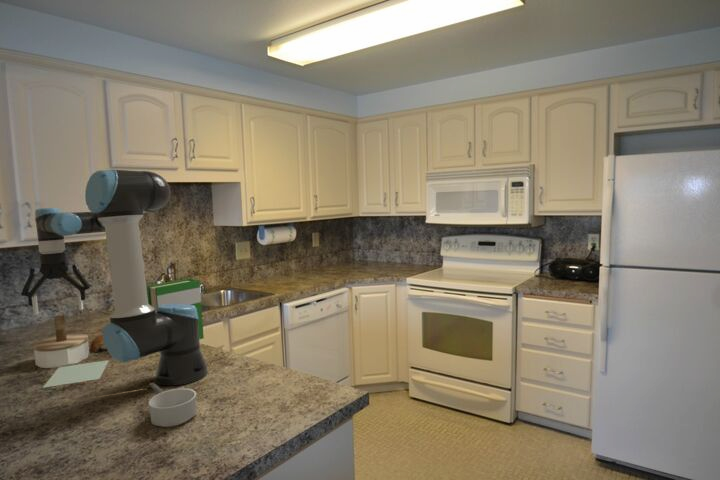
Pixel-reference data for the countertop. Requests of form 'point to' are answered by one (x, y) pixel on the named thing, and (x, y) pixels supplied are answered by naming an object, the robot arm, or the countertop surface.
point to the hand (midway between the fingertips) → (59, 312)
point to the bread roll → (98, 344)
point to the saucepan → (172, 406)
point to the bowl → (61, 356)
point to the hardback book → (177, 296)
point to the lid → (60, 338)
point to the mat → (77, 373)
